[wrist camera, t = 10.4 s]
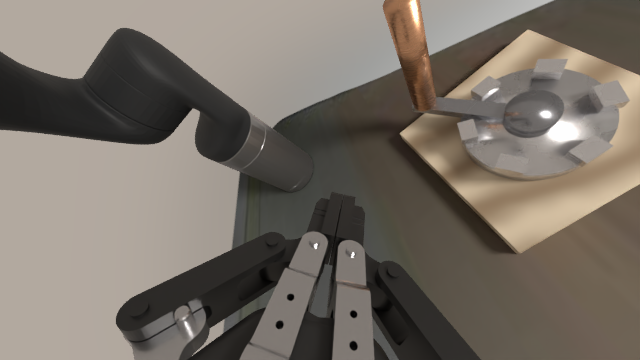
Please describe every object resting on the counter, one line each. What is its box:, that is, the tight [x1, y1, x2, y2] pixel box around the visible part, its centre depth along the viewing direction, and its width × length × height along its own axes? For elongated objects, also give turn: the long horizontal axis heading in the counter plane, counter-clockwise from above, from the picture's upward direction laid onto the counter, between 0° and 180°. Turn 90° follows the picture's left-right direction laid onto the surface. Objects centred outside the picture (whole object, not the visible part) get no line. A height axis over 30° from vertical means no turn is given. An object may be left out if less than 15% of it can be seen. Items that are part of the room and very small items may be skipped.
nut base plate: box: [400, 30, 640, 254], centre depth 31 cm, size 22×22×2 cm
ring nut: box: [383, 0, 630, 181], centre depth 24 cm, size 20×14×20 cm
